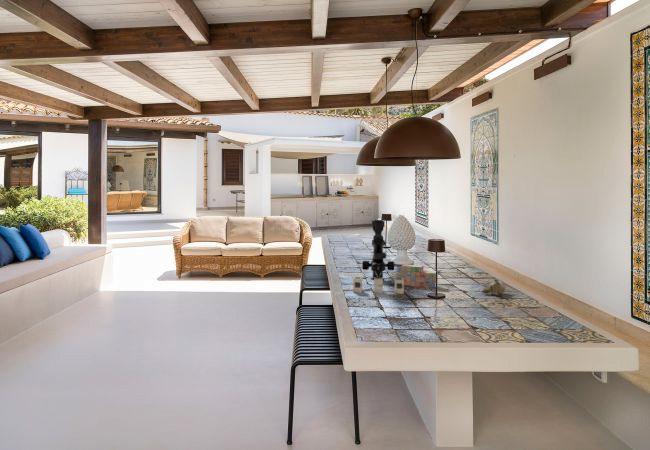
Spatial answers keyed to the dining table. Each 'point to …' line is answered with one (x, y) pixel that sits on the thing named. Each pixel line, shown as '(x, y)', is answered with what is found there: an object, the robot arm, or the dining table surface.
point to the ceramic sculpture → (495, 288)
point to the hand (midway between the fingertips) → (378, 277)
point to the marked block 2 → (399, 286)
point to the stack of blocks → (418, 276)
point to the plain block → (378, 285)
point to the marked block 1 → (357, 284)
